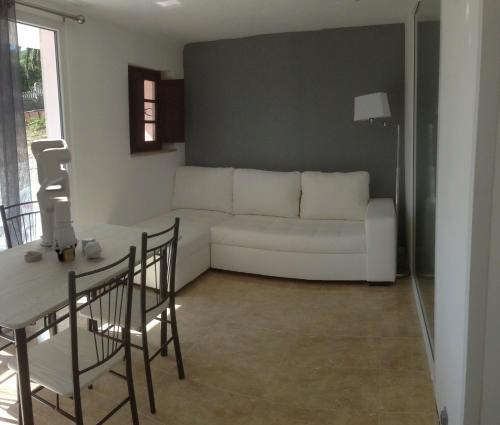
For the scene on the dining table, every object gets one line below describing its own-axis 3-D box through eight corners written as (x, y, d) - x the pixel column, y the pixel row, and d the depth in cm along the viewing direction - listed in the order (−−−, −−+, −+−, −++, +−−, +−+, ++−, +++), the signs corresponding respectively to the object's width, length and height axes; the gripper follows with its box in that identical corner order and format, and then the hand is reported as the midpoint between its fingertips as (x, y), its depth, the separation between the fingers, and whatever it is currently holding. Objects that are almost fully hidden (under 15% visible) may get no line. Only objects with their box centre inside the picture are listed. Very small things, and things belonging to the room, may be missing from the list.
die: (92, 262, 241) (102, 245, 242) (77, 253, 241) (88, 236, 243) (97, 262, 249) (107, 246, 250) (83, 254, 249) (93, 238, 251)
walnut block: (59, 260, 242) (58, 249, 241) (68, 258, 246) (66, 246, 245) (65, 262, 239) (64, 250, 238) (74, 259, 243) (73, 248, 242)
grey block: (82, 250, 258) (81, 240, 257) (88, 248, 263) (87, 237, 262) (90, 251, 257) (89, 240, 256) (96, 248, 262) (95, 238, 260)
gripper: (73, 220, 248) (76, 253, 252) (43, 227, 234) (47, 262, 237) (82, 221, 244) (85, 255, 248) (53, 229, 230) (56, 264, 233)
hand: (66, 258), depth 242 cm, fingers open, 6 cm apart
